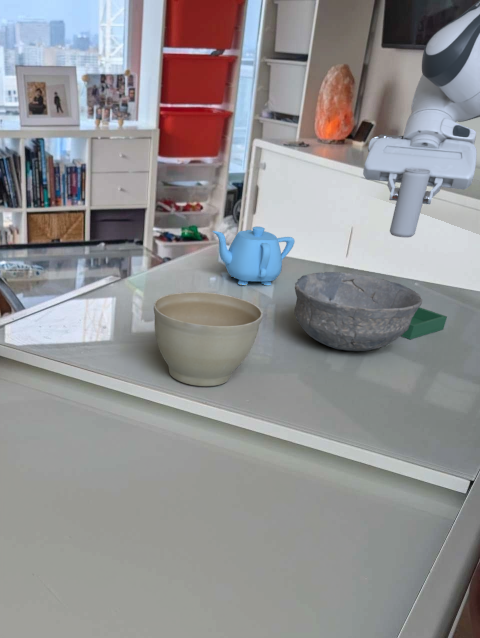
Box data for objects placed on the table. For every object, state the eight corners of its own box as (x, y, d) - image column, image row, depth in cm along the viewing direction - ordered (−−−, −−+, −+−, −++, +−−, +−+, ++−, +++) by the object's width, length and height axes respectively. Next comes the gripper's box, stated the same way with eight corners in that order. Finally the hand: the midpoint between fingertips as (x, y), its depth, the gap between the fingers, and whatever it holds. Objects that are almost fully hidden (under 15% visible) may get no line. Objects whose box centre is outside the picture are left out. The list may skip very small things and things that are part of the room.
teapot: (290, 284, 163) (301, 229, 157) (256, 294, 153) (266, 237, 148) (240, 271, 170) (249, 219, 164) (204, 281, 160) (212, 225, 154)
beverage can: (389, 236, 149) (405, 170, 142) (387, 231, 153) (403, 166, 146) (415, 239, 148) (432, 172, 141) (412, 233, 152) (429, 168, 145)
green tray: (397, 313, 148) (400, 300, 146) (443, 329, 141) (447, 316, 139) (363, 322, 143) (366, 309, 141) (410, 339, 136) (413, 326, 134)
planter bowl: (269, 392, 114) (282, 322, 108) (170, 401, 110) (177, 329, 104) (225, 352, 127) (234, 288, 121) (134, 359, 123) (139, 293, 117)
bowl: (433, 359, 128) (451, 301, 123) (338, 376, 120) (352, 315, 115) (350, 319, 144) (362, 266, 138) (261, 332, 136) (270, 276, 130)
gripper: (373, 122, 149) (356, 184, 147) (485, 131, 142) (469, 196, 140) (370, 144, 155) (353, 204, 152) (478, 154, 148) (462, 216, 146)
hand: (410, 200), depth 146 cm, fingers closed on beverage can, 5 cm apart
